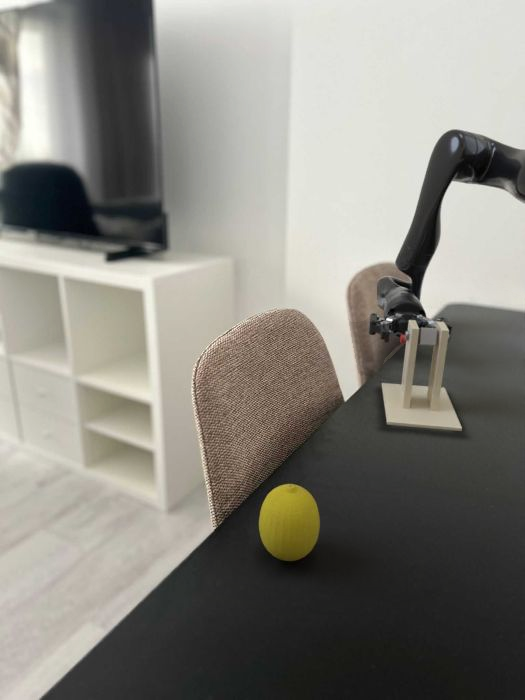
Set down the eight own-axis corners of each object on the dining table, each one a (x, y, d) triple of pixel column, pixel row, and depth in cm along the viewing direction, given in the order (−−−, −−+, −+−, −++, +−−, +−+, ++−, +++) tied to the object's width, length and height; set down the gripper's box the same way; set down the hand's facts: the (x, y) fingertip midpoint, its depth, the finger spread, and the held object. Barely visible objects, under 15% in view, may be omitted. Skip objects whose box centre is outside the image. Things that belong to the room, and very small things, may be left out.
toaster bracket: (380, 391, 85) (389, 310, 80) (443, 396, 83) (455, 314, 79) (386, 431, 72) (396, 337, 67) (460, 438, 70) (476, 342, 66)
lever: (399, 346, 84) (400, 331, 84) (430, 348, 84) (431, 333, 84) (409, 343, 72) (410, 326, 72) (446, 346, 72) (447, 329, 72)
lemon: (276, 531, 52) (278, 462, 49) (327, 551, 49) (332, 479, 46) (247, 565, 47) (247, 491, 44) (300, 590, 44) (304, 512, 42)
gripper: (369, 293, 102) (372, 314, 87) (443, 297, 100) (460, 319, 85) (365, 329, 104) (368, 356, 89) (438, 333, 102) (453, 362, 87)
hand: (413, 338), depth 87 cm, fingers open, 8 cm apart
